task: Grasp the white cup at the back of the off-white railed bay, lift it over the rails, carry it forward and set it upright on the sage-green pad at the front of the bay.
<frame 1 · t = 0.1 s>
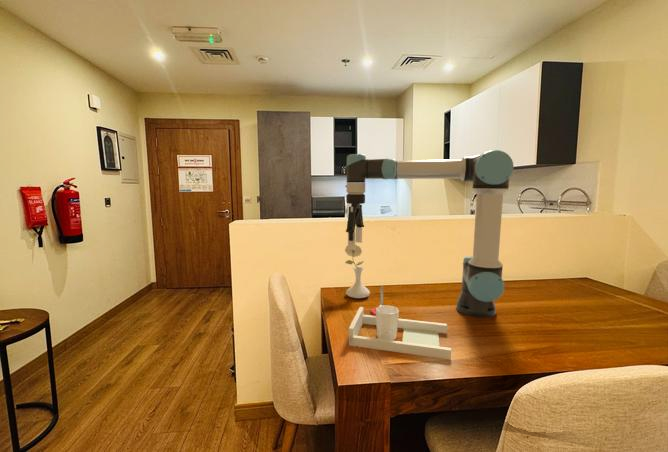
hand: (355, 245, 131), 28 cm above the table, fingers open, 13 cm apart
red ring on peg: (381, 313, 132), on the table
flower in vase: (356, 296, 152), on the table
white cup: (386, 337, 112), resting in bay
bay: (399, 338, 111), on the table
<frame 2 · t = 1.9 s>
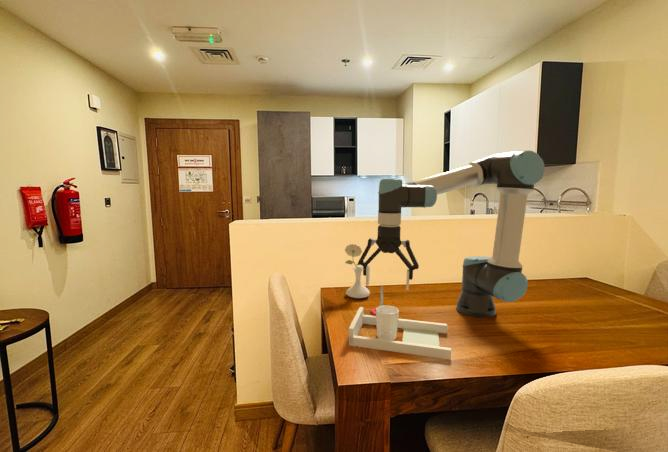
hand: (387, 286, 109), 18 cm above the table, fingers open, 13 cm apart
nothing on the table moved.
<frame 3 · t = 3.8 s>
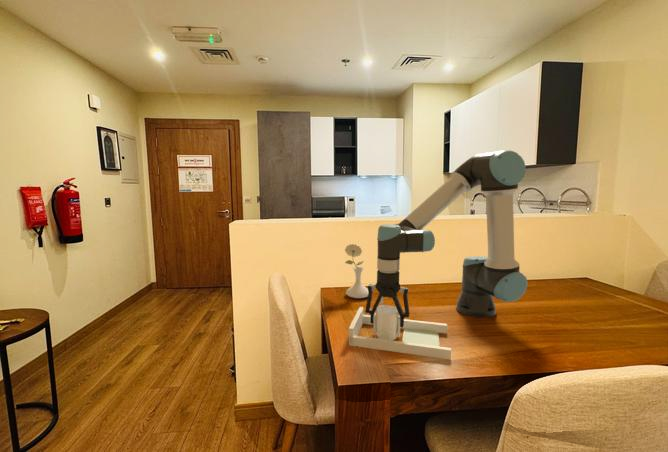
hand: (386, 333, 112), 1 cm above the table, fingers closed on white cup, 8 cm apart
white cup: (386, 337, 112), resting in bay, touching gripper
everything else where it was.
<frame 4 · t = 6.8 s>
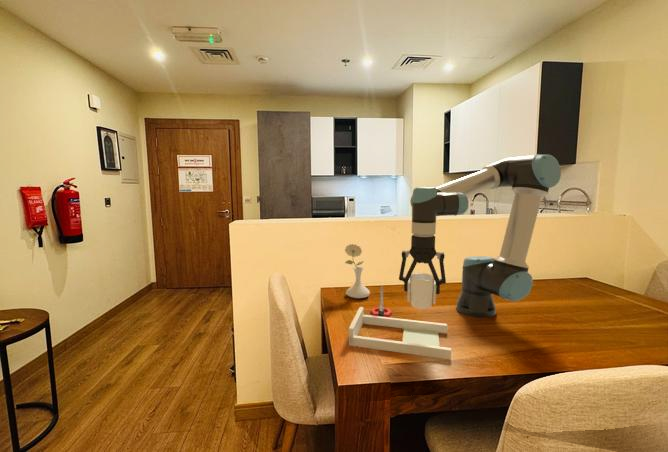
hand: (421, 301, 107), 14 cm above the table, fingers closed on white cup, 8 cm apart
white cup: (421, 305, 107), point 12 cm above the table, touching gripper
everything else where it was.
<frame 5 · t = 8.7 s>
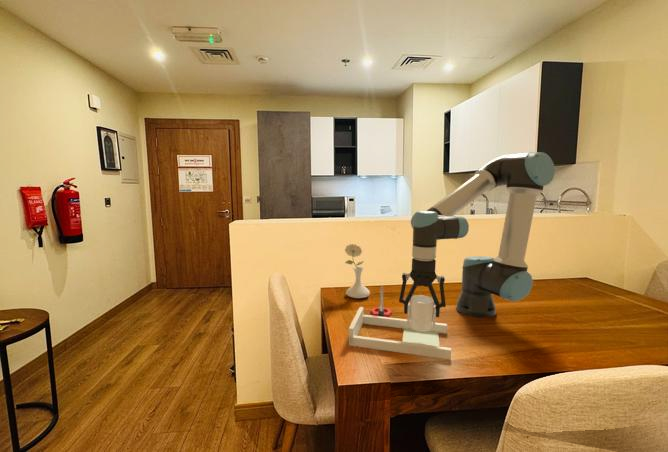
hand: (421, 324, 108), 6 cm above the table, fingers closed on white cup, 8 cm apart
white cup: (420, 327, 108), point 5 cm above the table, touching gripper
everything else where it was.
when the fingers open (2 cm above the table, at t = 10.0 s): white cup stays where it is, resting on bay.
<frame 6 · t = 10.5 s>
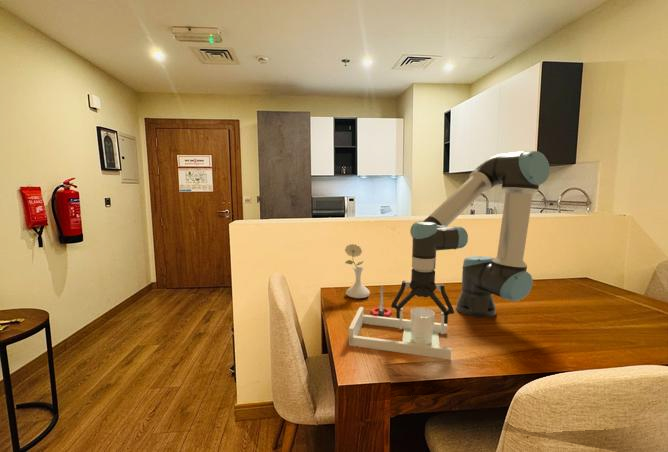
hand: (421, 329, 108), 4 cm above the table, fingers open, 13 cm apart
white cup: (421, 340, 109), resting on bay
everything else where it was.
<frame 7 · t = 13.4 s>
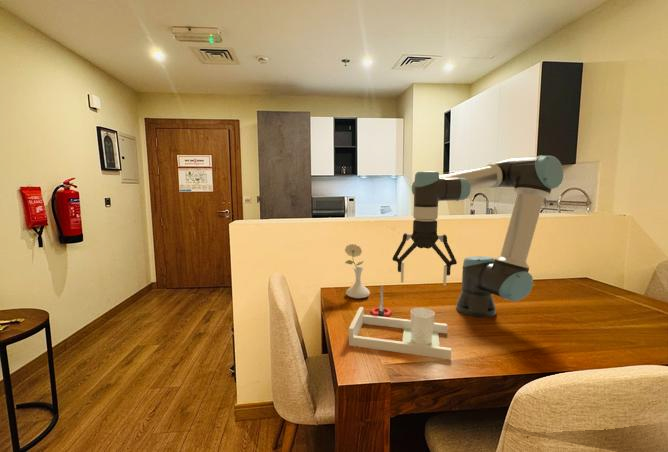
hand: (423, 283, 106), 20 cm above the table, fingers open, 13 cm apart
nothing on the table moved.
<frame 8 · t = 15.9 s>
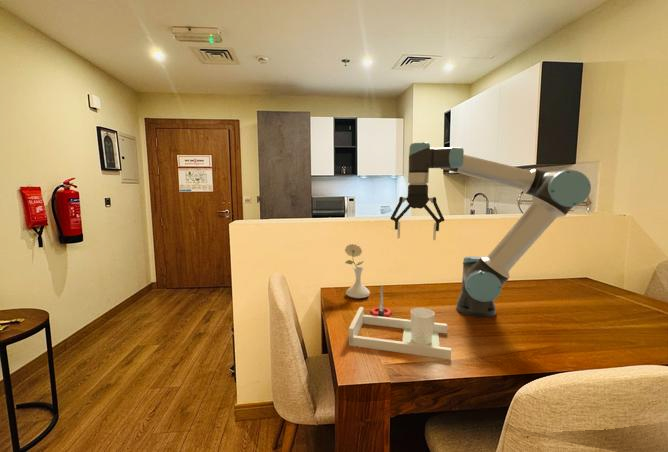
hand: (416, 238, 125), 32 cm above the table, fingers open, 13 cm apart
nothing on the table moved.
at the end: white cup inside the target area (0.3 cm from its centre), resting on bay; white cup tilted 0°; the gripper is holding nothing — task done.
